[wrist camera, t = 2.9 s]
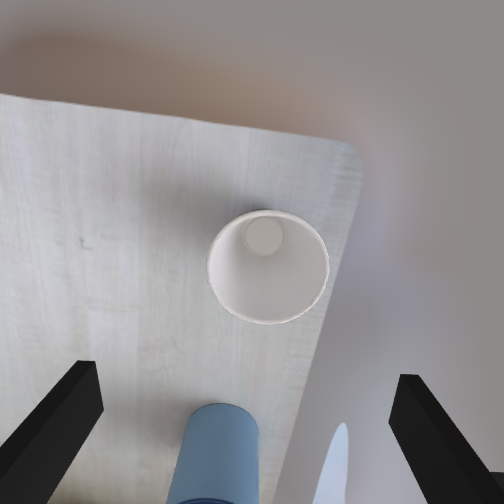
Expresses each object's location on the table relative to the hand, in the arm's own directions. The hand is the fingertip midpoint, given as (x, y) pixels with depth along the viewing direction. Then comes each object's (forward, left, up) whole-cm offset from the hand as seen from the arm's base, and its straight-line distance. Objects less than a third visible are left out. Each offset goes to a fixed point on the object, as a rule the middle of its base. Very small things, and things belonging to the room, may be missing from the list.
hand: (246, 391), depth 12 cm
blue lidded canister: (+5, +30, -22) cm, 37 cm away
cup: (-1, -1, -22) cm, 22 cm away
